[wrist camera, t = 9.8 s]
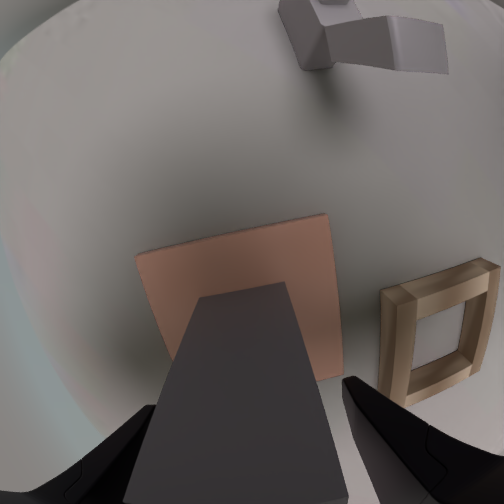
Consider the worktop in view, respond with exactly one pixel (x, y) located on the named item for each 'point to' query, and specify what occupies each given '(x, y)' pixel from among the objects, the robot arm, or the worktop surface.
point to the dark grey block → (239, 412)
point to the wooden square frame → (425, 304)
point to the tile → (253, 281)
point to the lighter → (361, 37)
